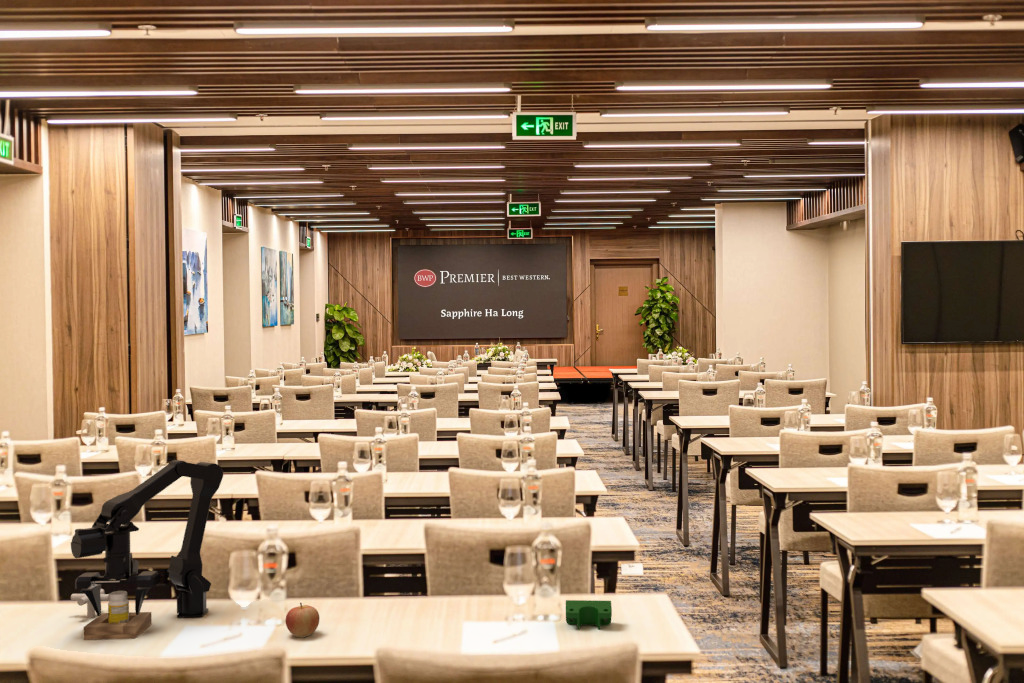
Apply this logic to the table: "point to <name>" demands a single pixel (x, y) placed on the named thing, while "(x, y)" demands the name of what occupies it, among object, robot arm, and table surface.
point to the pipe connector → (84, 599)
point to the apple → (302, 620)
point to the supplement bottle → (118, 607)
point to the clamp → (588, 613)
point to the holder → (117, 627)
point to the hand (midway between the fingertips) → (118, 615)
